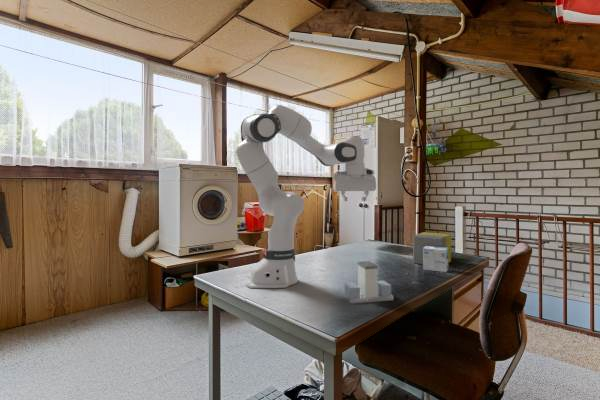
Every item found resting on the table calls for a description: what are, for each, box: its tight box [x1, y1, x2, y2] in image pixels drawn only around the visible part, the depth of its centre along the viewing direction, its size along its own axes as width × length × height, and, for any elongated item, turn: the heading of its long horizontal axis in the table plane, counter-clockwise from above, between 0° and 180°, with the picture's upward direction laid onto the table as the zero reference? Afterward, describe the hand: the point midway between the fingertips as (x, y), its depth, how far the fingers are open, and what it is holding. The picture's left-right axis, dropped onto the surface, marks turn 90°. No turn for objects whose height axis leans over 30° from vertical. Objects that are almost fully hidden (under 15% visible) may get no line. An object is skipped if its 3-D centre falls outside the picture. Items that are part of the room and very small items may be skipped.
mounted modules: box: [344, 280, 392, 298], centre depth 113 cm, size 16×6×4 cm, turn 101°
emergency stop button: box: [412, 231, 452, 266], centre depth 167 cm, size 15×24×15 cm, turn 139°
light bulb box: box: [422, 246, 449, 273], centre depth 151 cm, size 11×7×11 cm, turn 58°
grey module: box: [357, 260, 378, 297], centre depth 113 cm, size 5×7×11 cm, turn 11°
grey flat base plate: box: [342, 290, 394, 305], centre depth 113 cm, size 16×8×2 cm, turn 101°
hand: (354, 200), depth 146 cm, fingers open, 8 cm apart
